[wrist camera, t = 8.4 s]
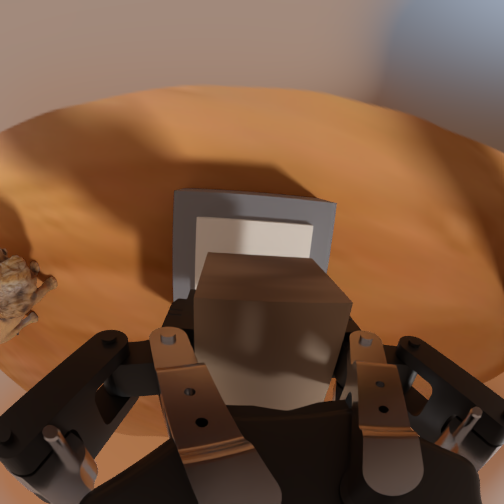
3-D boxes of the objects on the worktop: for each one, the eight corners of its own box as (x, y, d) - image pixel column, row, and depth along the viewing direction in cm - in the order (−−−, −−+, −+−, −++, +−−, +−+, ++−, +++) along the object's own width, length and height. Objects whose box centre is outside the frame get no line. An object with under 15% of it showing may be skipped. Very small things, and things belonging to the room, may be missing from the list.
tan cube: (312, 258, 13) (352, 303, 8) (297, 344, 14) (320, 408, 10) (207, 252, 13) (193, 297, 8) (206, 341, 14) (197, 409, 9)
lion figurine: (38, 220, 19) (-30, 244, 10) (73, 257, 20) (10, 297, 11) (7, 317, 21) (-36, 354, 13) (35, 347, 22) (-3, 391, 14)
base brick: (317, 198, 20) (338, 204, 16) (301, 315, 23) (314, 343, 19) (185, 188, 19) (172, 191, 15) (183, 310, 22) (174, 339, 18)
